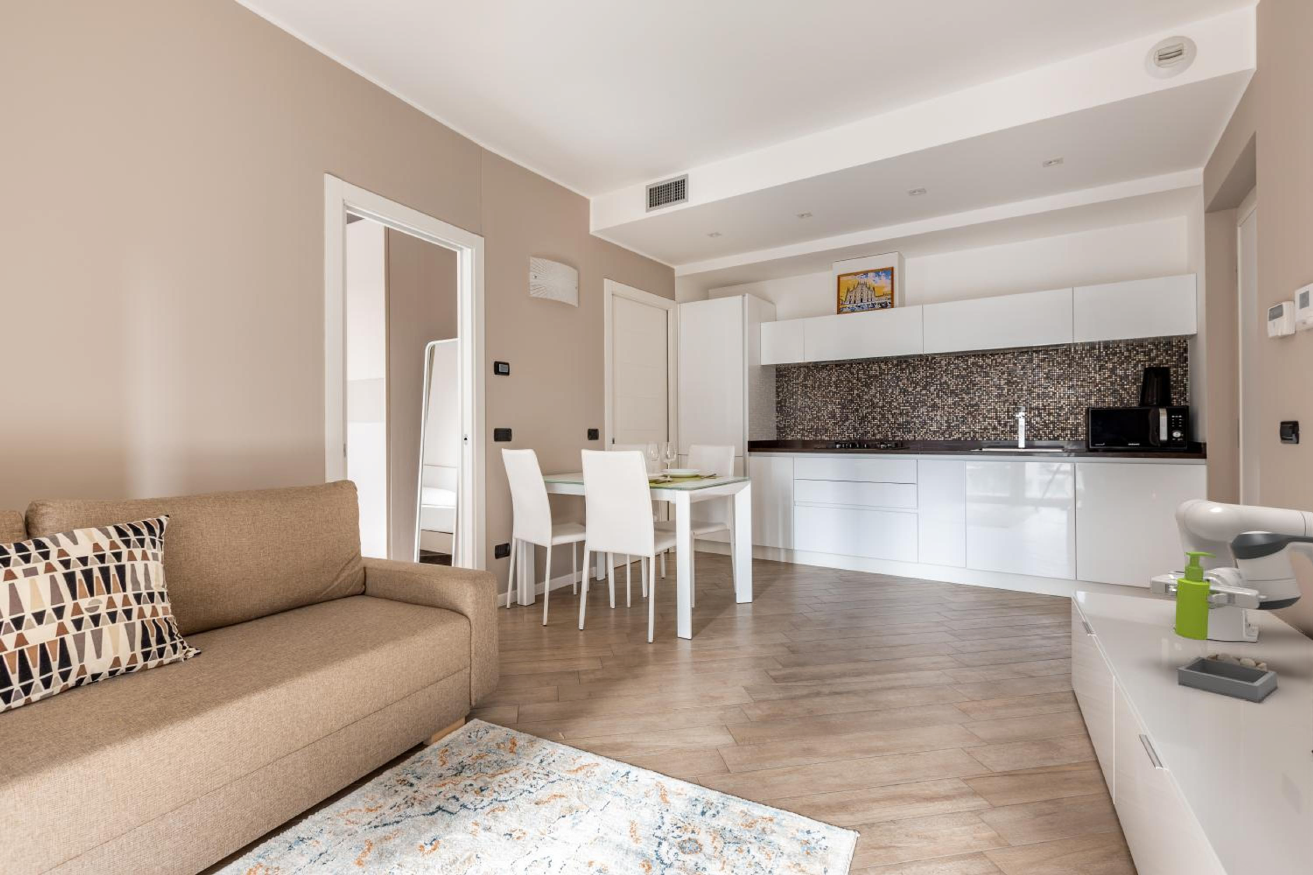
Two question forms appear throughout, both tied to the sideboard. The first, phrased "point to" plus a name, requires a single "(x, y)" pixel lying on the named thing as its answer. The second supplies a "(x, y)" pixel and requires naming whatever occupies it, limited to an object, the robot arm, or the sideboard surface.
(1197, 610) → the soap dispenser
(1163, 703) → the sideboard surface
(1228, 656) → the pebble
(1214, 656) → the parts tray
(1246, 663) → the pebble
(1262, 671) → the dish
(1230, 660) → the pebble
